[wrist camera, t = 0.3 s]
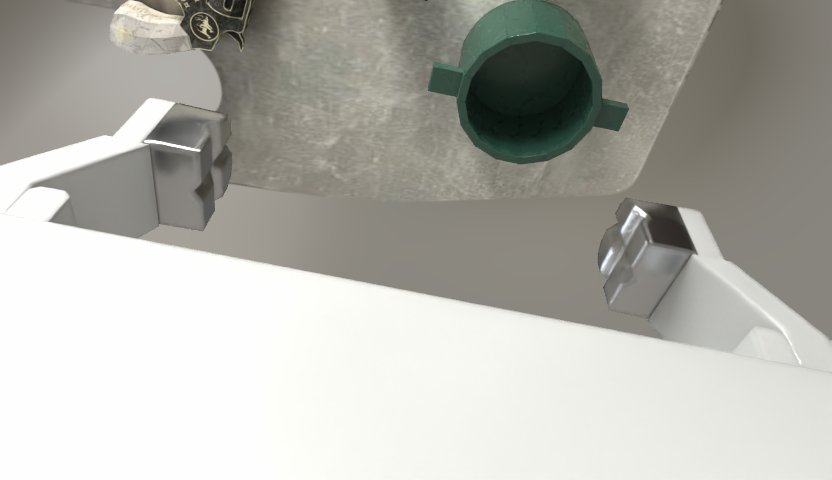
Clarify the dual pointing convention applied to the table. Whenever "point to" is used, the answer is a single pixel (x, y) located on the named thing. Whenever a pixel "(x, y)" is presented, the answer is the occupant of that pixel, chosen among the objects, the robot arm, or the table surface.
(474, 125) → the pot
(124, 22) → the revolver
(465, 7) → the table surface
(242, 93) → the table surface
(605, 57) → the table surface
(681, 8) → the table surface
